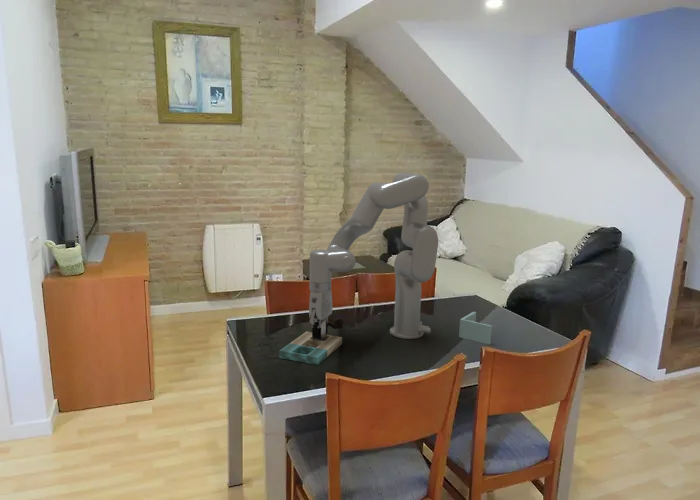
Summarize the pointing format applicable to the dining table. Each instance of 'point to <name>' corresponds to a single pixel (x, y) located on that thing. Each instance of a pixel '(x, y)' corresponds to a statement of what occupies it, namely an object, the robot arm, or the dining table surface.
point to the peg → (322, 330)
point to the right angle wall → (474, 329)
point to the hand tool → (335, 321)
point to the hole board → (310, 348)
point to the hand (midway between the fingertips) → (319, 335)
